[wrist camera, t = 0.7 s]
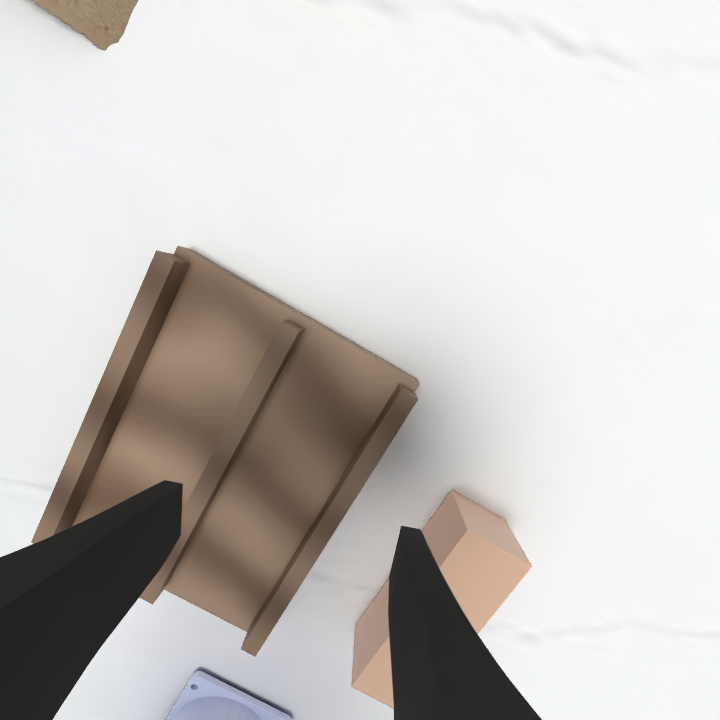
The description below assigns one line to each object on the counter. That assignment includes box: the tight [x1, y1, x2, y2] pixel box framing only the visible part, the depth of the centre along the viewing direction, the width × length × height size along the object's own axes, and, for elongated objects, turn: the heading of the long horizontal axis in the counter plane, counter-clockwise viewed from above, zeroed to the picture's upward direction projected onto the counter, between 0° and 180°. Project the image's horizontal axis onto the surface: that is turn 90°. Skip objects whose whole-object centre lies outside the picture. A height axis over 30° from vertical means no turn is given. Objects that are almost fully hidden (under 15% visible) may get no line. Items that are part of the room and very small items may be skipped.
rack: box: [31, 246, 419, 656], centre depth 20 cm, size 20×15×3 cm
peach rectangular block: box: [351, 490, 532, 709], centre depth 21 cm, size 12×4×4 cm, turn 150°
